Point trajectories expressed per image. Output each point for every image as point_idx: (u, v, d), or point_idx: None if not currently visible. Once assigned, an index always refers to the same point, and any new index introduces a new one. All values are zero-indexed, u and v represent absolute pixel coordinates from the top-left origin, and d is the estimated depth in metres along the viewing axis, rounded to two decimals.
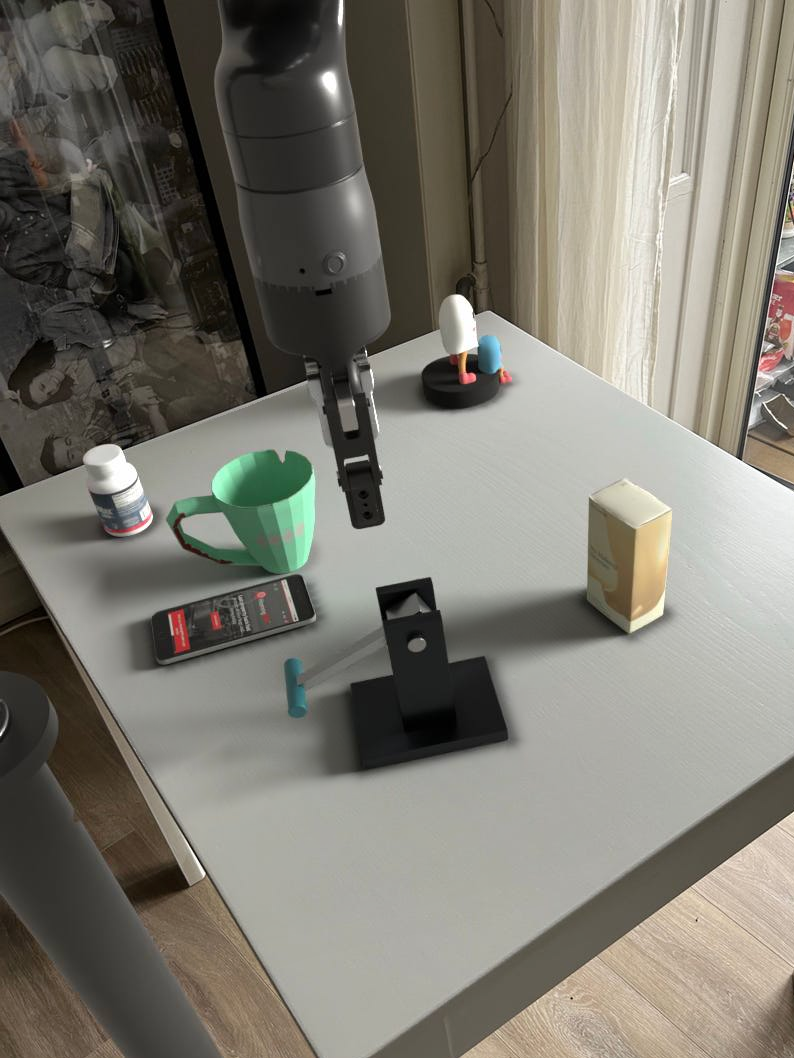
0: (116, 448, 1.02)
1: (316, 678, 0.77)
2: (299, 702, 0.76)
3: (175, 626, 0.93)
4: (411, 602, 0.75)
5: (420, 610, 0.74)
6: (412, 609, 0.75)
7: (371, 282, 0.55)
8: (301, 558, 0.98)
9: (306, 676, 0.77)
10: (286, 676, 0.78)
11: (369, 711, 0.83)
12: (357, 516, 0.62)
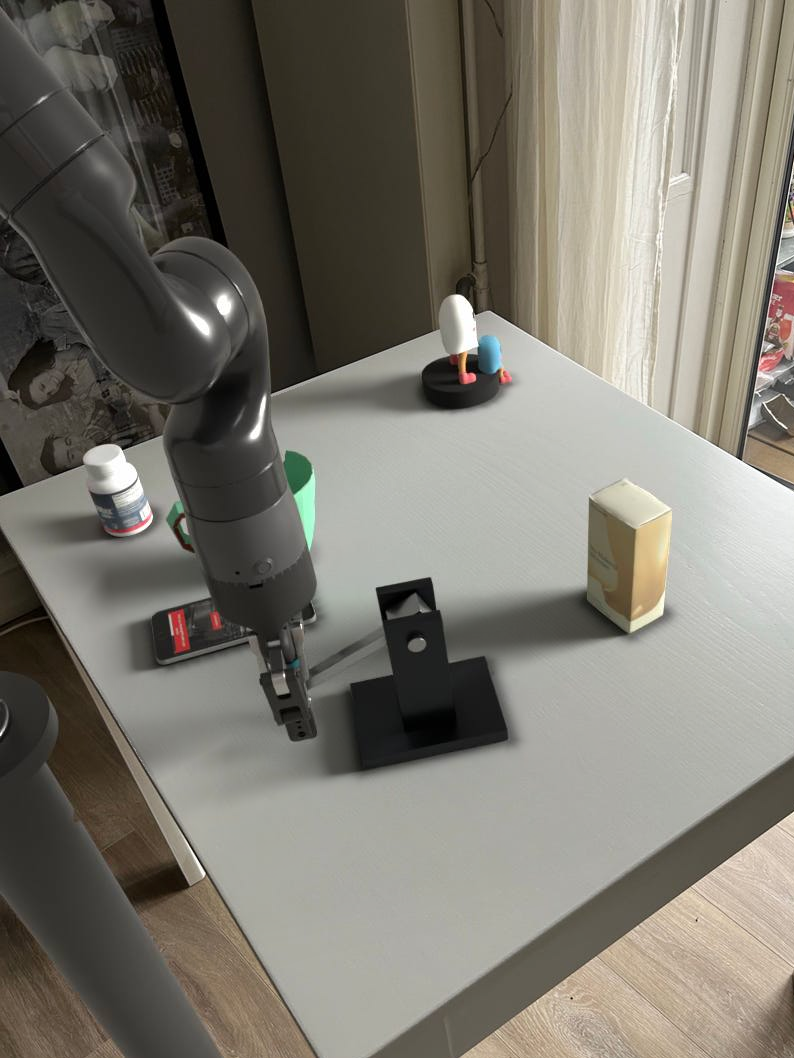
0: (116, 448, 1.02)
1: (316, 678, 0.77)
2: None
3: (175, 626, 0.93)
4: (411, 602, 0.75)
5: (420, 610, 0.74)
6: (412, 609, 0.75)
7: (296, 571, 0.67)
8: None
9: None
10: None
11: (369, 711, 0.83)
12: (293, 735, 0.76)
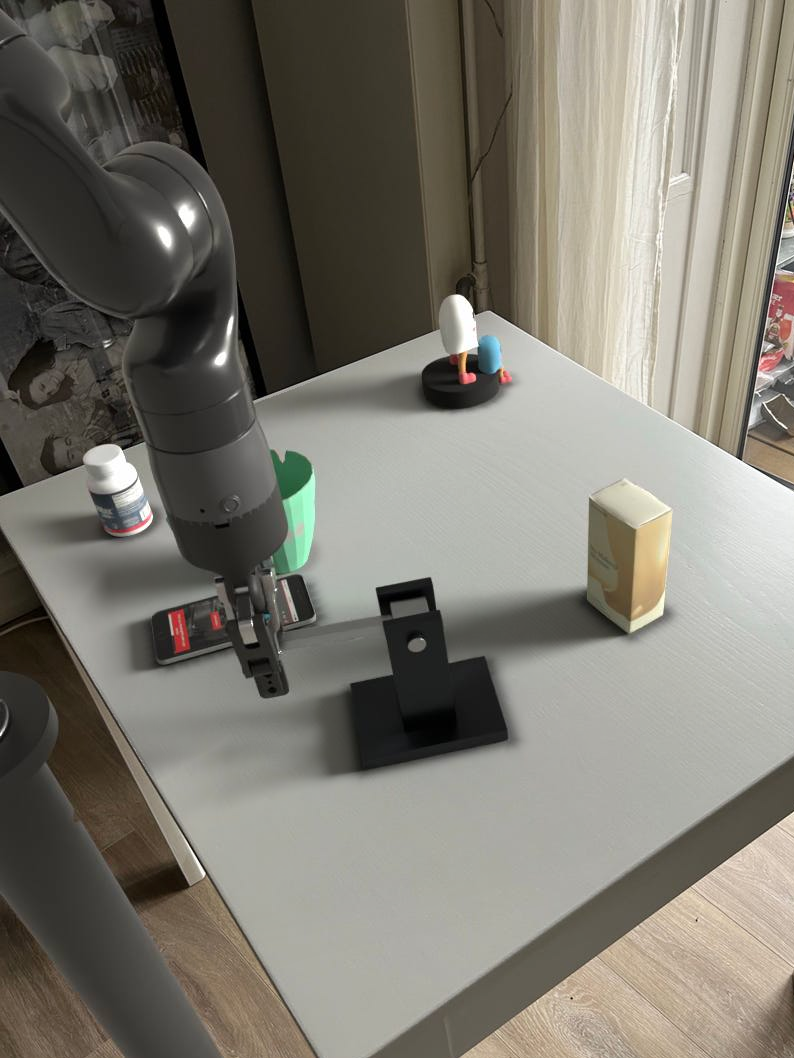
0: (116, 448, 1.02)
1: (296, 642, 0.74)
2: None
3: (175, 626, 0.93)
4: (420, 603, 0.75)
5: None
6: (420, 609, 0.75)
7: (265, 512, 0.64)
8: (301, 558, 0.98)
9: (286, 637, 0.74)
10: None
11: (369, 711, 0.83)
12: (263, 691, 0.72)
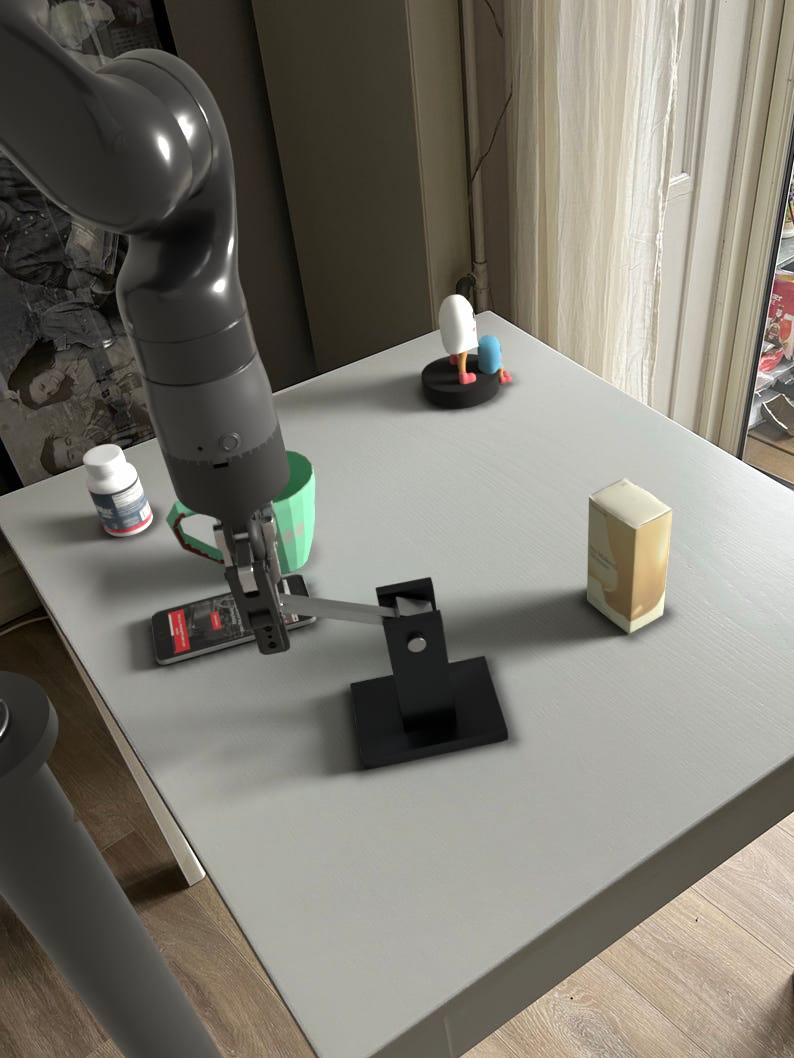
0: (116, 448, 1.02)
1: (297, 608, 0.72)
2: None
3: (175, 626, 0.93)
4: (425, 606, 0.76)
5: None
6: None
7: (266, 453, 0.61)
8: (301, 558, 0.98)
9: (289, 600, 0.72)
10: None
11: (369, 711, 0.83)
12: (263, 646, 0.69)
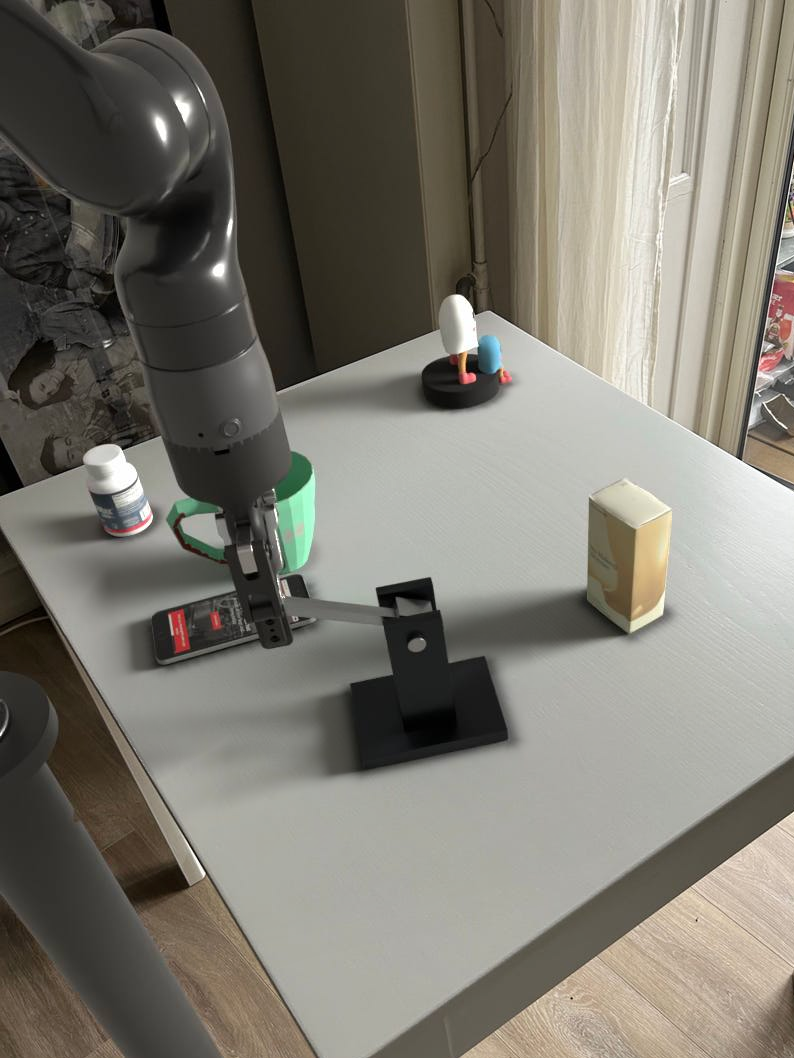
0: (116, 448, 1.02)
1: (297, 610, 0.72)
2: None
3: (175, 626, 0.93)
4: (425, 606, 0.76)
5: None
6: None
7: (268, 439, 0.60)
8: (301, 558, 0.98)
9: (288, 602, 0.72)
10: None
11: (369, 711, 0.83)
12: (265, 640, 0.67)
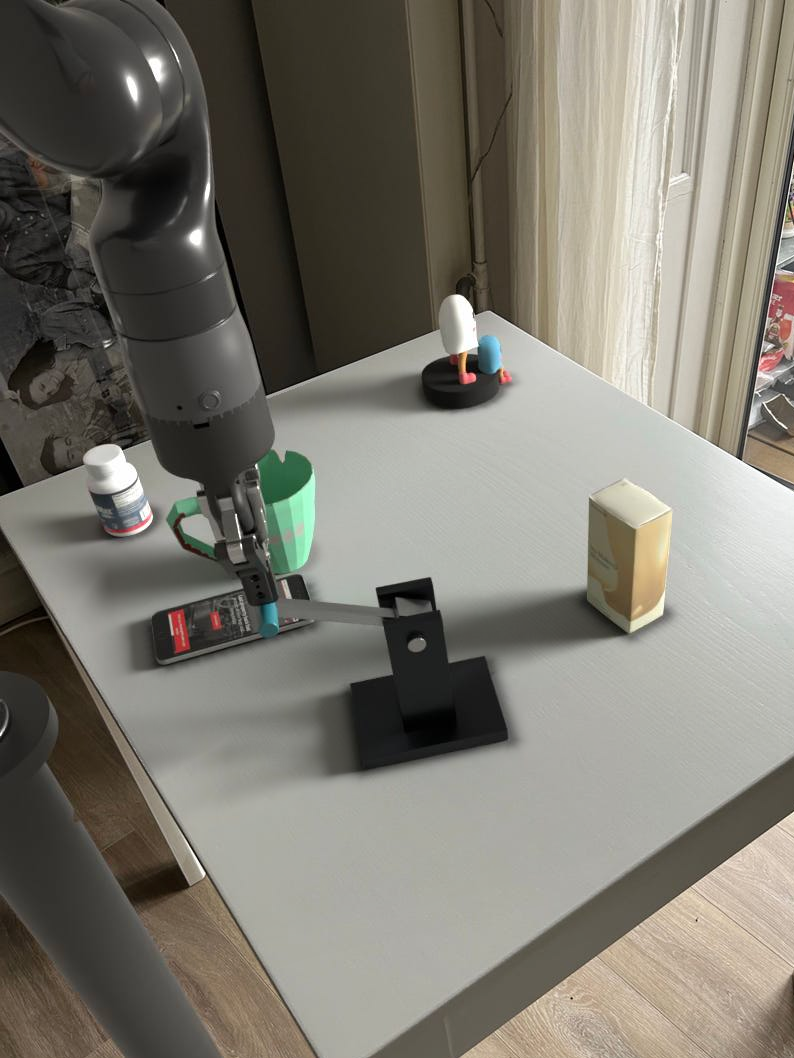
0: (116, 448, 1.02)
1: (296, 612, 0.72)
2: (276, 623, 0.70)
3: (175, 626, 0.93)
4: (424, 606, 0.76)
5: None
6: None
7: (249, 413, 0.59)
8: (301, 558, 0.98)
9: (287, 604, 0.72)
10: None
11: (369, 711, 0.83)
12: (251, 596, 0.70)
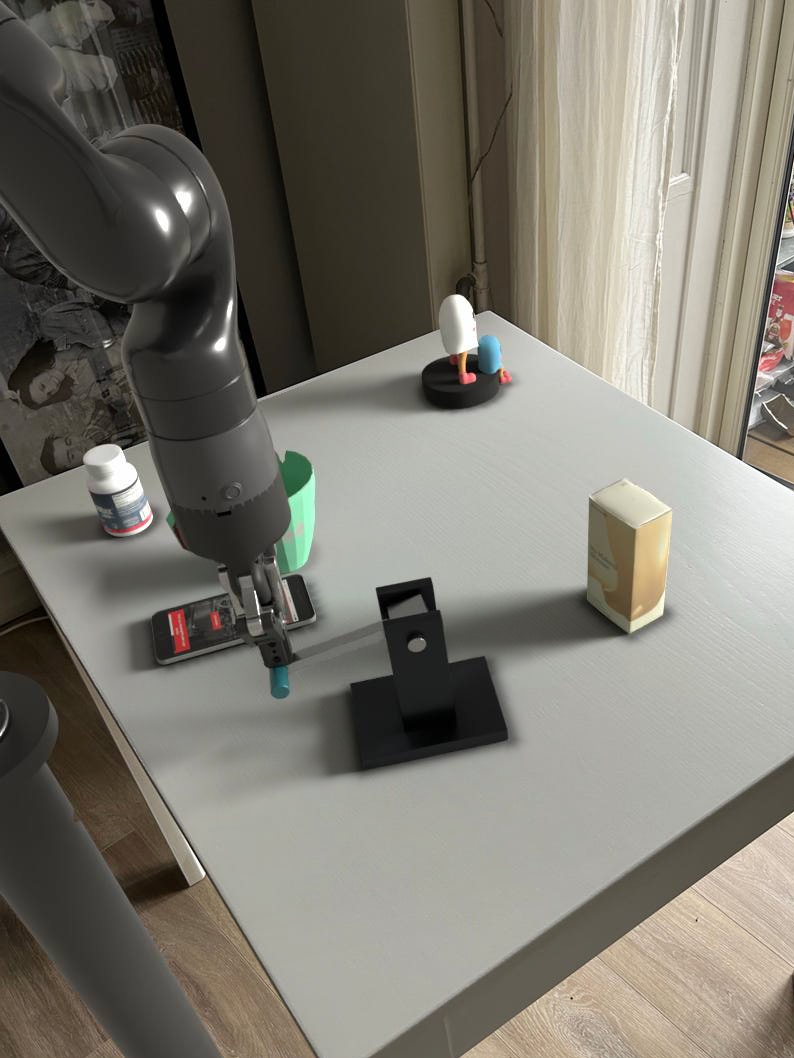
0: (116, 448, 1.02)
1: (303, 662, 0.76)
2: (284, 683, 0.74)
3: (175, 626, 0.93)
4: (415, 602, 0.75)
5: (425, 611, 0.74)
6: (416, 609, 0.75)
7: (268, 499, 0.63)
8: (301, 558, 0.98)
9: (293, 659, 0.76)
10: None
11: (369, 711, 0.83)
12: (268, 660, 0.74)
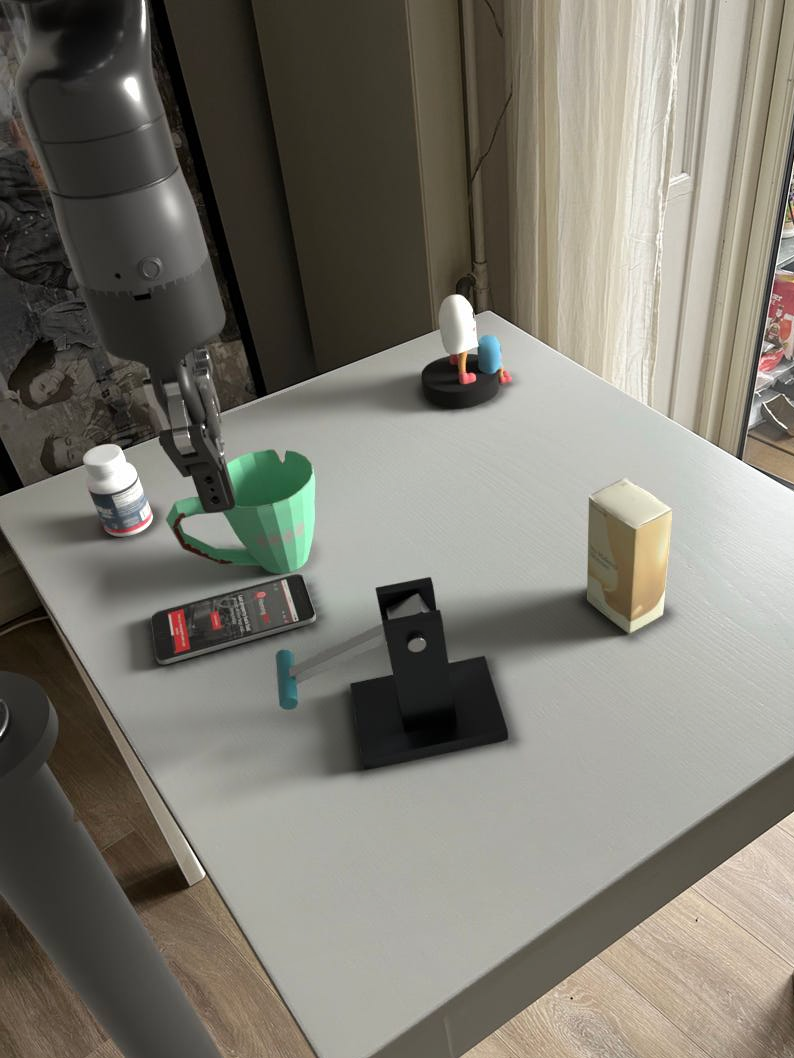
0: (116, 448, 1.02)
1: (309, 671, 0.77)
2: (291, 694, 0.75)
3: (175, 626, 0.93)
4: (413, 602, 0.75)
5: (422, 610, 0.74)
6: (414, 609, 0.75)
7: (194, 287, 0.55)
8: (301, 558, 0.98)
9: (299, 669, 0.77)
10: (278, 667, 0.78)
11: (369, 711, 0.83)
12: (205, 500, 0.66)
